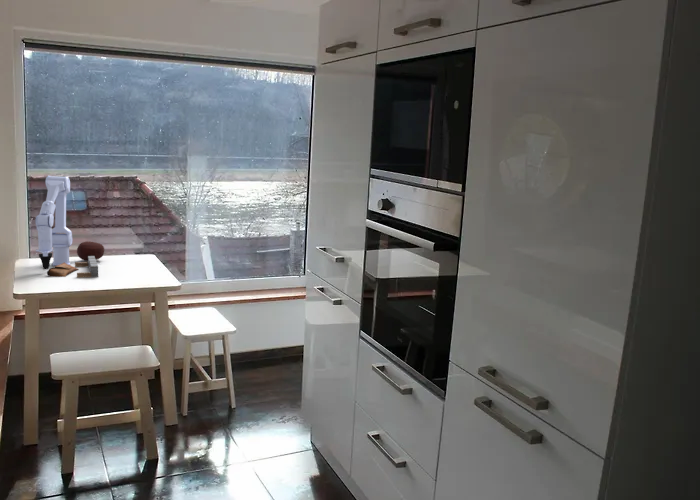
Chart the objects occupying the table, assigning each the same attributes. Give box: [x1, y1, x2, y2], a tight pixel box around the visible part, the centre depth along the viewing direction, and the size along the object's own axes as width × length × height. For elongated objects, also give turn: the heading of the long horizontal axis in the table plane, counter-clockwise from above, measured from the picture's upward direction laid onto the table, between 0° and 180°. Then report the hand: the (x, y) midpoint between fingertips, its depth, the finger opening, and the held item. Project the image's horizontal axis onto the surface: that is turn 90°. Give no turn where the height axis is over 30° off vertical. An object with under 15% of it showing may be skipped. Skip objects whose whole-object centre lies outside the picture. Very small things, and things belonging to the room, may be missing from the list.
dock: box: [74, 256, 99, 279], centre depth 302 cm, size 27×9×5 cm, turn 25°
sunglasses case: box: [46, 262, 80, 278], centre depth 297 cm, size 18×7×7 cm
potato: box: [76, 240, 105, 262], centre depth 326 cm, size 11×13×10 cm
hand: (46, 269), depth 295 cm, fingers closed
